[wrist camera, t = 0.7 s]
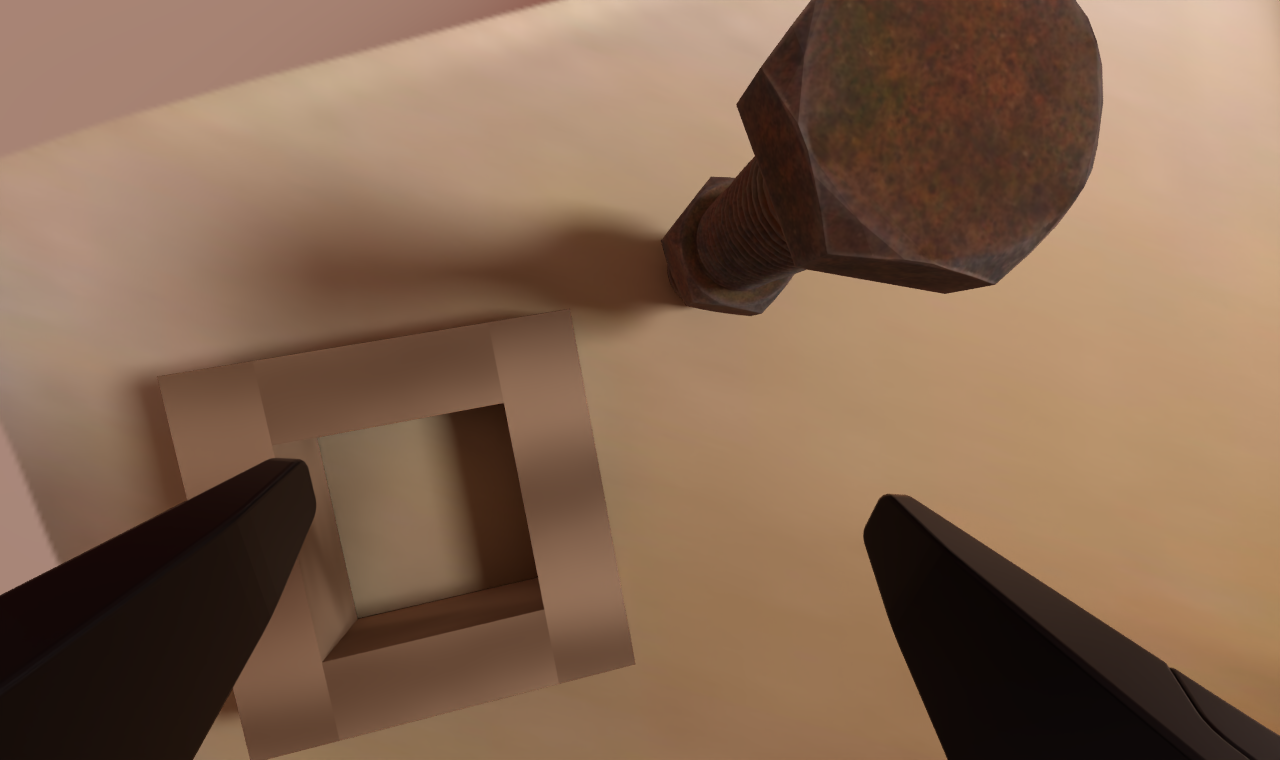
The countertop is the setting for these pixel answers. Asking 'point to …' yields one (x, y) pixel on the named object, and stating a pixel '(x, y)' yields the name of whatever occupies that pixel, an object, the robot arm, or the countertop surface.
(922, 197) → the bolt
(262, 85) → the countertop surface
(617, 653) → the jig
